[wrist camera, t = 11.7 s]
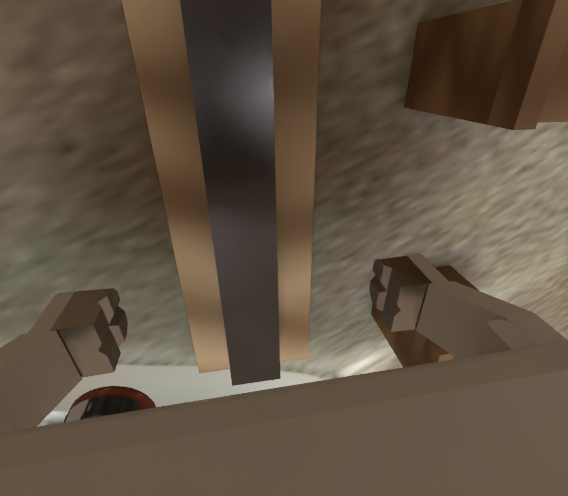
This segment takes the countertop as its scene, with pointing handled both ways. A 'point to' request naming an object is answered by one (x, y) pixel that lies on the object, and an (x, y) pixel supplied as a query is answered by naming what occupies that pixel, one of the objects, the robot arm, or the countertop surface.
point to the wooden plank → (189, 171)
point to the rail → (239, 171)
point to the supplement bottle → (108, 403)
